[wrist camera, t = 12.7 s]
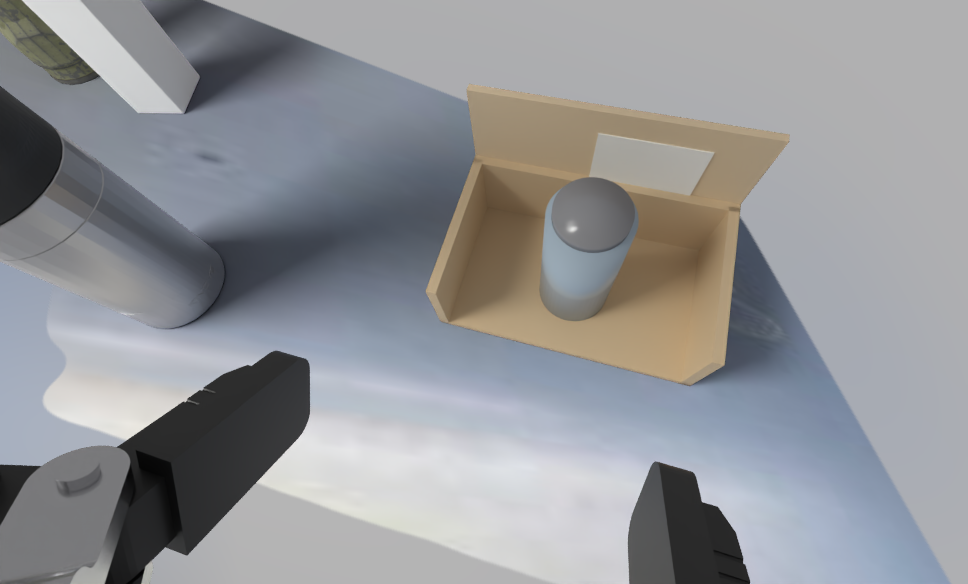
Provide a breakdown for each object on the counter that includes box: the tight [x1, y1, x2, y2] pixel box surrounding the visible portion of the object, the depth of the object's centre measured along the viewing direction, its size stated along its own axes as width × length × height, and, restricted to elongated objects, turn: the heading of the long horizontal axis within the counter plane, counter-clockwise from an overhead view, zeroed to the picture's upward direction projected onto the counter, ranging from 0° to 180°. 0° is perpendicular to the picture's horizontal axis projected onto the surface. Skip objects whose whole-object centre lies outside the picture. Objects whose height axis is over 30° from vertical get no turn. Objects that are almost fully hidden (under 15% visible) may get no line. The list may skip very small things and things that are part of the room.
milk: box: [22, 0, 200, 114], centre depth 45 cm, size 6×6×22 cm
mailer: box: [426, 84, 789, 386], centre depth 35 cm, size 22×14×14 cm, turn 74°
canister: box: [539, 177, 639, 321], centre depth 35 cm, size 6×6×13 cm
